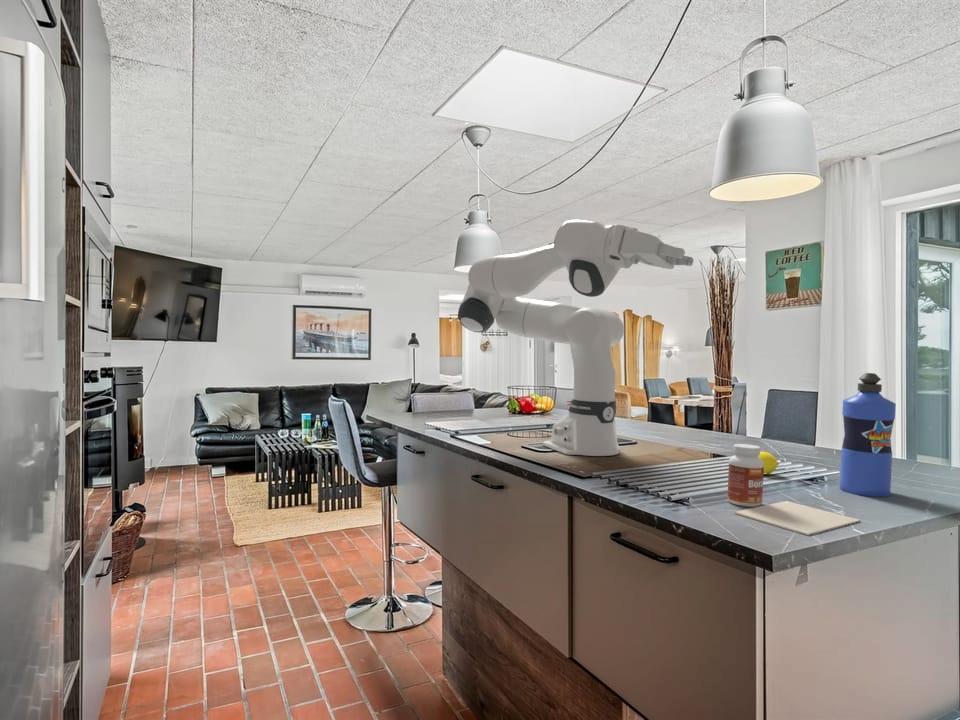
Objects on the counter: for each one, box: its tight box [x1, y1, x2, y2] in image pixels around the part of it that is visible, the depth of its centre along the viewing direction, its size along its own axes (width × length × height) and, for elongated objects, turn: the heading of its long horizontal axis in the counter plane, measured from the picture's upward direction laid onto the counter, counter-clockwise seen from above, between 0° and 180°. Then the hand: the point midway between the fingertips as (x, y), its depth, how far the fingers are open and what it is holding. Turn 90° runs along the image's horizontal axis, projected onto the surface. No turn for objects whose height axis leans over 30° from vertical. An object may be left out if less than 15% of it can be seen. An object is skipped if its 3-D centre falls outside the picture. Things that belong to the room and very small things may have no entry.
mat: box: [733, 500, 861, 536], centre depth 107 cm, size 14×16×1 cm
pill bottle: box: [727, 443, 764, 508], centre depth 115 cm, size 6×6×11 cm
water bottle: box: [839, 372, 897, 498], centre depth 126 cm, size 9×9×25 cm
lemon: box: [759, 451, 779, 474], centre depth 141 cm, size 7×5×5 cm
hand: (688, 258), depth 124 cm, fingers open, 8 cm apart
